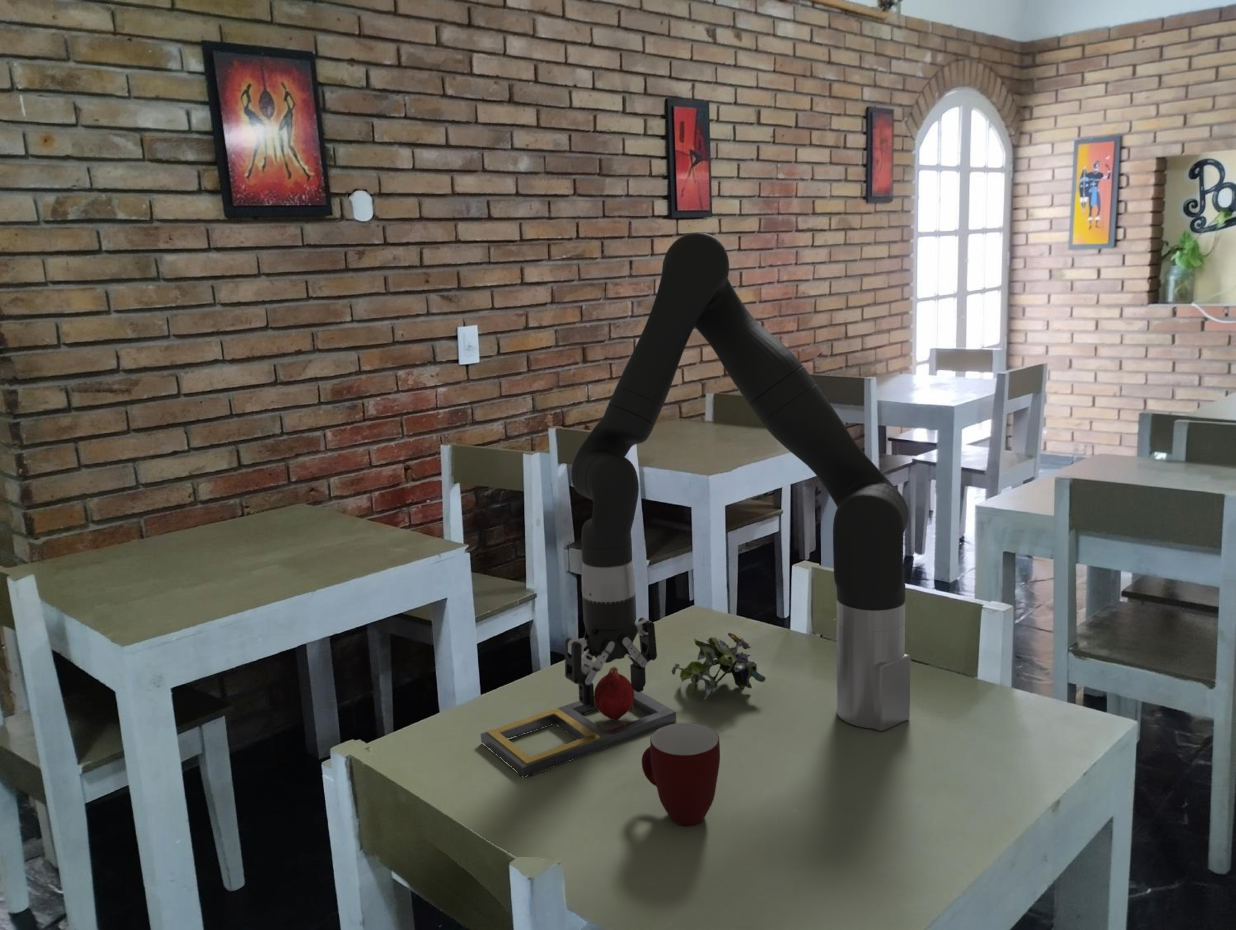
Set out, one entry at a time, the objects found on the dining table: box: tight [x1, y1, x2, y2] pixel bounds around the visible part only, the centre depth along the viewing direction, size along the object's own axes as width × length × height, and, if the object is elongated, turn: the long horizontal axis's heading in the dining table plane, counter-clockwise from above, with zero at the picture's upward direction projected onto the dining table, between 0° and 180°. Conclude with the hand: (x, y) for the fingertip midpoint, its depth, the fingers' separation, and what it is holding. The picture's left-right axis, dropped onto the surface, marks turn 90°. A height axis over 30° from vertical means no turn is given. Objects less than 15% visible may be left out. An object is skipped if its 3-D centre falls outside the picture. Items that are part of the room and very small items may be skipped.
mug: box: [641, 722, 721, 826], centre depth 114 cm, size 10×8×10 cm
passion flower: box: [671, 632, 766, 704], centre depth 145 cm, size 11×11×12 cm
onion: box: [594, 666, 634, 721], centre depth 138 cm, size 6×6×8 cm
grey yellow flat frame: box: [480, 690, 677, 777], centre depth 136 cm, size 12×25×2 cm, turn 125°
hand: (613, 697), depth 139 cm, fingers open, 8 cm apart
